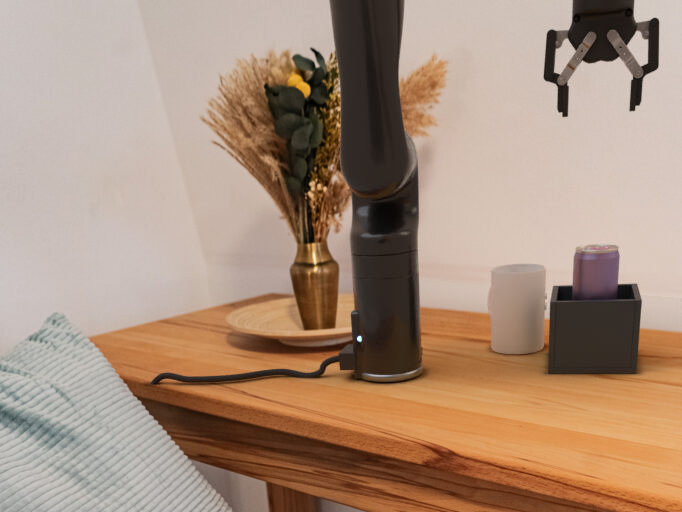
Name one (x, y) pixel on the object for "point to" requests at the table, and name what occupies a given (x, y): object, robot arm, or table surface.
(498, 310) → the mug
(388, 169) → the robot arm
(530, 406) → the table surface
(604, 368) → the waste bin
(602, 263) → the beverage can
